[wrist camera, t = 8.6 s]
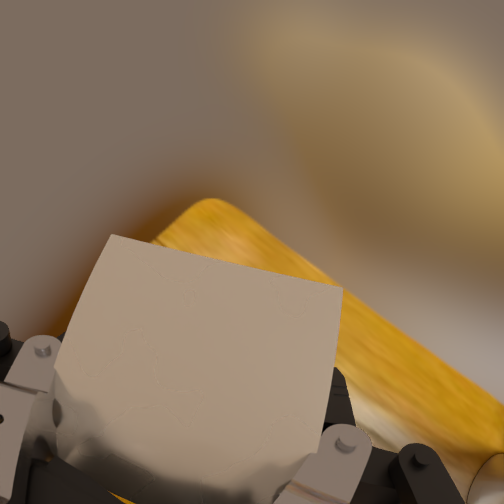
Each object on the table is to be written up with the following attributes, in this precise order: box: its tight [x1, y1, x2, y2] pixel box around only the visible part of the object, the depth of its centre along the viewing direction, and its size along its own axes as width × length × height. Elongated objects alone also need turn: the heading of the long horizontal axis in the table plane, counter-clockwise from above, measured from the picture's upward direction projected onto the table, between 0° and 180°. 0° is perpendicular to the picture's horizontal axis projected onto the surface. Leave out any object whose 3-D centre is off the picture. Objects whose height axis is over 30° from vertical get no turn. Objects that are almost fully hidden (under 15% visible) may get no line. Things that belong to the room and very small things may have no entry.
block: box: [52, 234, 343, 504], centre depth 9 cm, size 6×6×8 cm
